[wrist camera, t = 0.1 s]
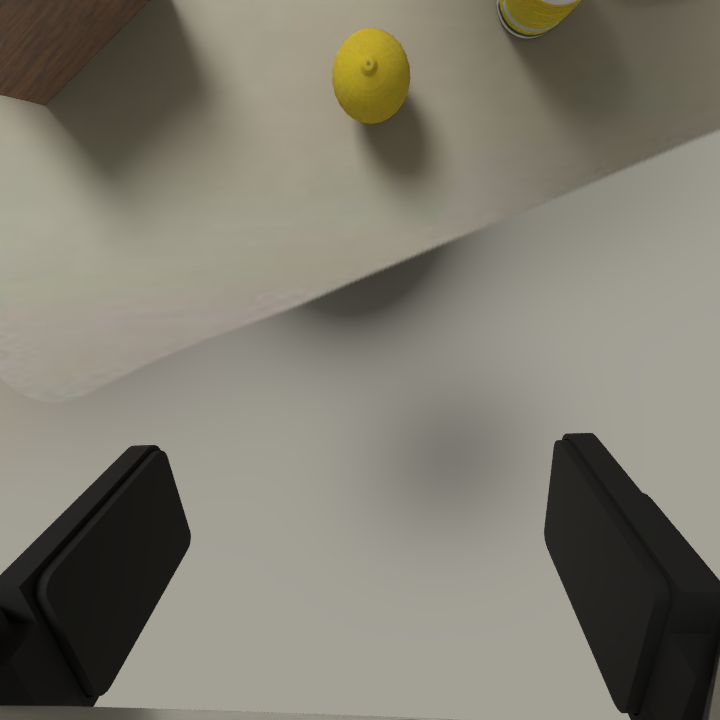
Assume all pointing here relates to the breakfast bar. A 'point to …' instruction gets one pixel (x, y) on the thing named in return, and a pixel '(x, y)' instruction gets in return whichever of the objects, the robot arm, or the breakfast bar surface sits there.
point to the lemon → (371, 75)
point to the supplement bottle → (533, 15)
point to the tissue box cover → (54, 41)
